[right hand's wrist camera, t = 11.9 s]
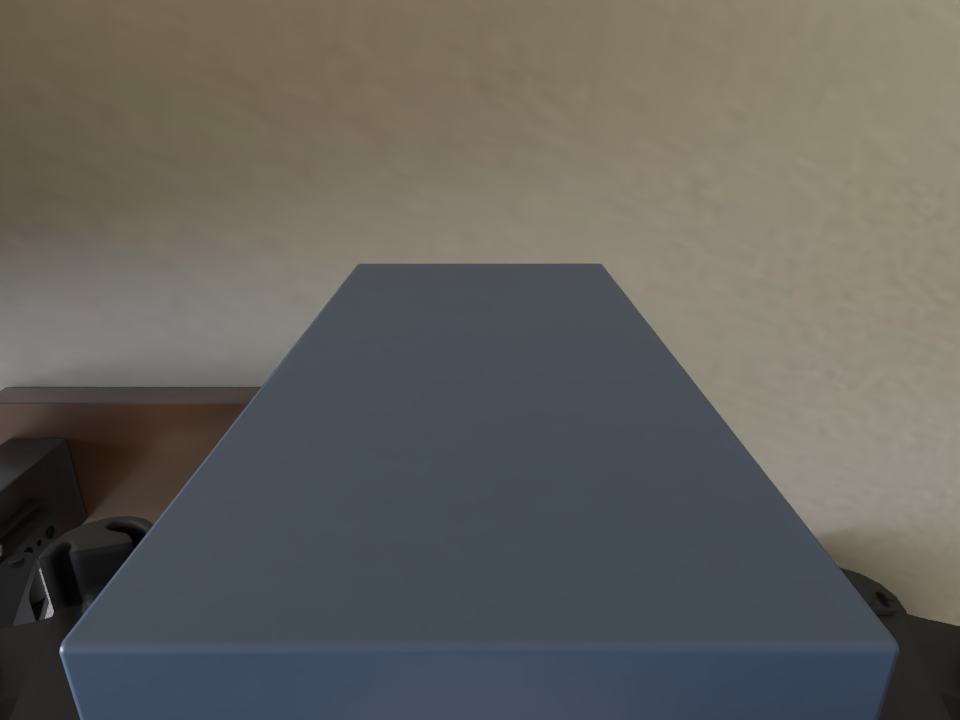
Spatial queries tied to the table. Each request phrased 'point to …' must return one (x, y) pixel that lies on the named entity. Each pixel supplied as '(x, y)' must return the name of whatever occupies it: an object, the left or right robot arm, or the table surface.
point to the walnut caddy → (108, 447)
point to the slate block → (479, 533)
